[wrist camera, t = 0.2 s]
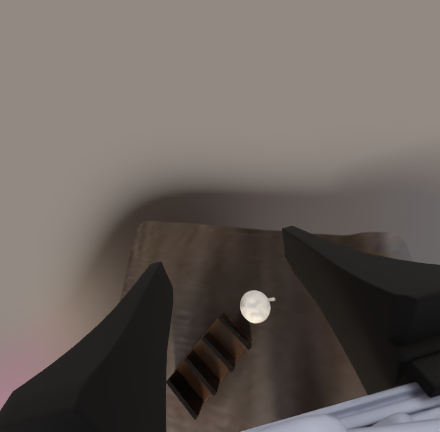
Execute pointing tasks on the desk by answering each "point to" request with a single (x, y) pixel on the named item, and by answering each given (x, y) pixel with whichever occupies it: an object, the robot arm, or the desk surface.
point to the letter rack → (208, 363)
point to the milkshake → (255, 306)
